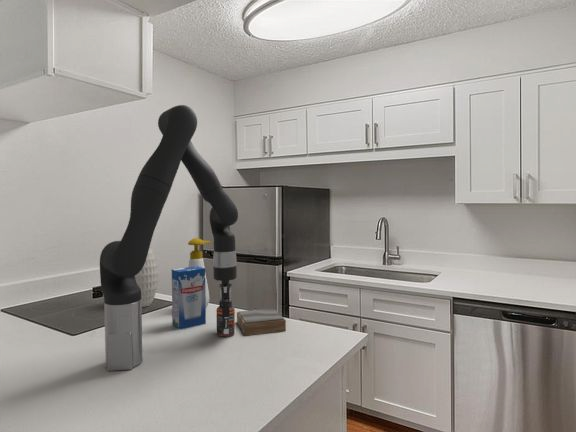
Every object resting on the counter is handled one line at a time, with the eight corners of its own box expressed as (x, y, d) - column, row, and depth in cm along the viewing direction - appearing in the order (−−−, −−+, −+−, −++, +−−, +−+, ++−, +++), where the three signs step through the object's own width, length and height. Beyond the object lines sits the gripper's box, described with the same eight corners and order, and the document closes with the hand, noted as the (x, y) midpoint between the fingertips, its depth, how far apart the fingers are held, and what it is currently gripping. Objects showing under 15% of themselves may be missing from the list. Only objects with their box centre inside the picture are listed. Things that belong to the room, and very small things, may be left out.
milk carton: (179, 329, 128) (178, 271, 127) (172, 325, 133) (171, 269, 132) (206, 323, 135) (205, 268, 134) (198, 319, 139) (197, 266, 139)
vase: (131, 311, 149) (130, 241, 148) (122, 304, 159) (121, 238, 158) (163, 305, 157) (162, 238, 156) (152, 299, 167) (151, 236, 166)
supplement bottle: (231, 338, 121) (230, 303, 120) (213, 336, 122) (213, 302, 121) (237, 331, 126) (237, 298, 126) (220, 330, 128) (220, 297, 127)
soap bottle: (219, 310, 151) (218, 238, 150) (196, 315, 144) (195, 240, 143) (201, 303, 160) (200, 236, 159) (179, 309, 153) (178, 237, 151)
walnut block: (285, 330, 127) (285, 318, 127) (245, 335, 123) (245, 323, 123) (273, 318, 141) (273, 307, 140) (236, 322, 136) (236, 311, 136)
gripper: (237, 268, 117) (238, 319, 118) (236, 260, 131) (237, 306, 132) (212, 269, 116) (213, 320, 117) (214, 261, 130) (215, 307, 131)
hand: (226, 313), depth 124 cm, fingers open, 8 cm apart
